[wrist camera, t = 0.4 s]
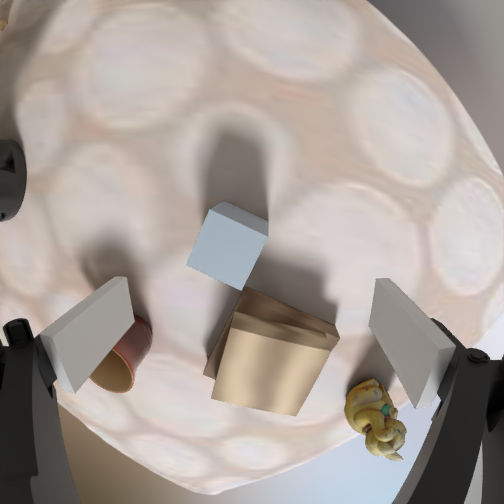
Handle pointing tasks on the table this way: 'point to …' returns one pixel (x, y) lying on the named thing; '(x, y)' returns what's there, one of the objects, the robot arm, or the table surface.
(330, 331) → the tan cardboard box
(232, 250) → the block
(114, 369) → the mug
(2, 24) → the planter
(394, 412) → the decorative figurine
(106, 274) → the table surface
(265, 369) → the slab upper
